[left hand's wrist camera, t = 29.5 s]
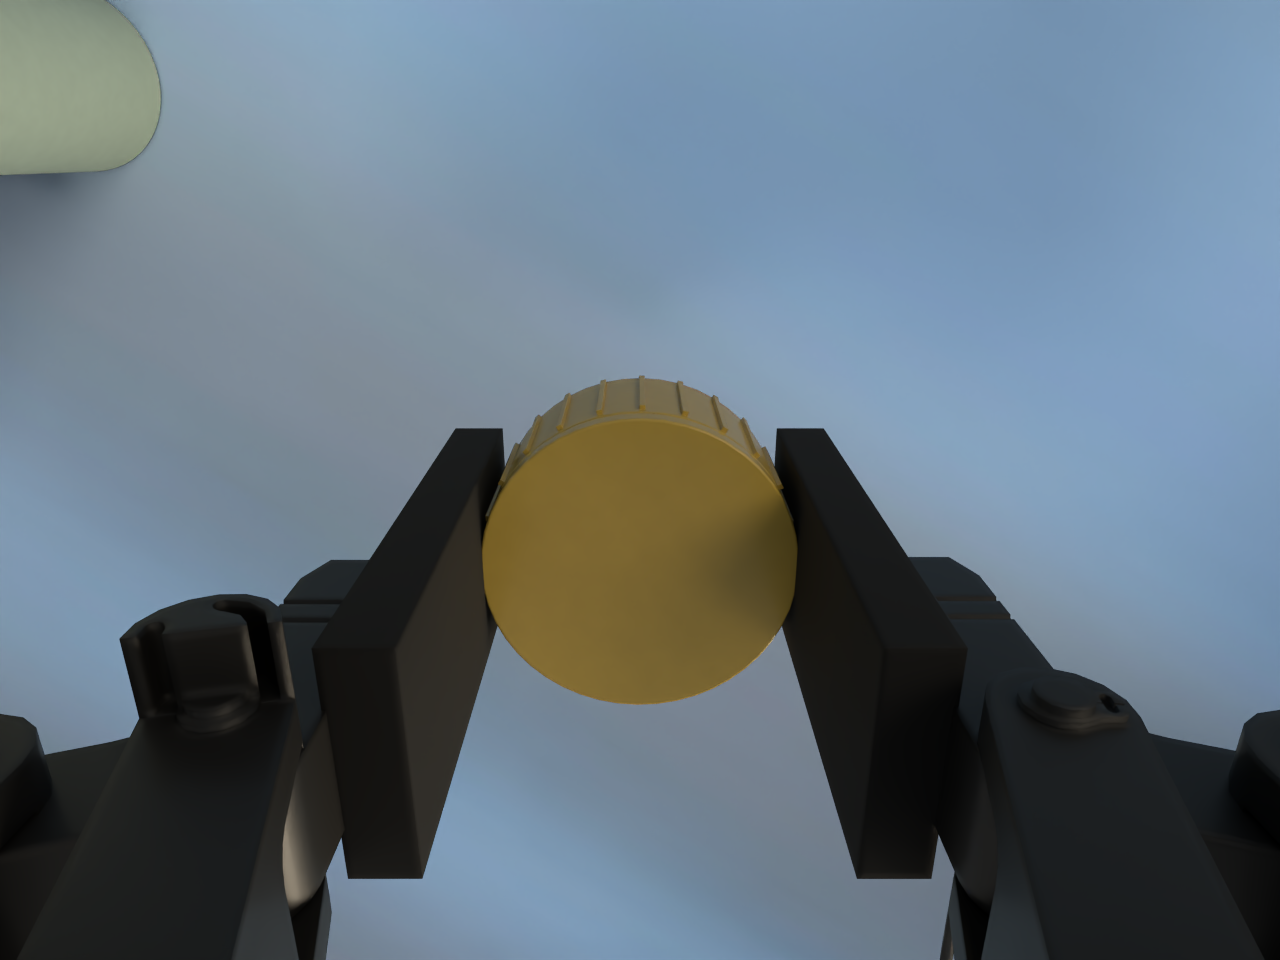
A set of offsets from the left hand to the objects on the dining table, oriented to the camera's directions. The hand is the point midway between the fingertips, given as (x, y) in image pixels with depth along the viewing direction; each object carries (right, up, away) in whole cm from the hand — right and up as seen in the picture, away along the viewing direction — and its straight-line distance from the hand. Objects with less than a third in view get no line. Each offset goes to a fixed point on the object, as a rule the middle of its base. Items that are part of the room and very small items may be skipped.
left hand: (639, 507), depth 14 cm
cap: (0, -1, -2) cm, 2 cm away
